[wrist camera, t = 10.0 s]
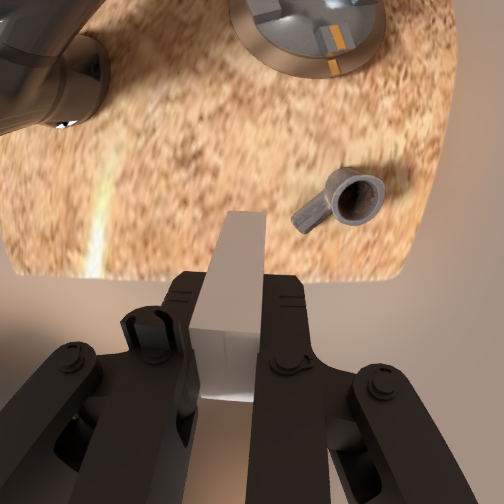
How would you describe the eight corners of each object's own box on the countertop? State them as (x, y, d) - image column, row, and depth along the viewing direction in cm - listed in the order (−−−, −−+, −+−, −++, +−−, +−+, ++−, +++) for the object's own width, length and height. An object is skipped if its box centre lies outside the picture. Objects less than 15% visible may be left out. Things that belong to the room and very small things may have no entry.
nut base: (200, 18, 30) (196, 14, 28) (297, -65, 22) (299, -71, 20) (315, 108, 35) (318, 109, 33) (407, 23, 27) (413, 20, 25)
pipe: (282, 206, 42) (285, 230, 35) (351, 149, 38) (369, 161, 31) (309, 235, 44) (316, 262, 37) (376, 181, 40) (396, 200, 33)
